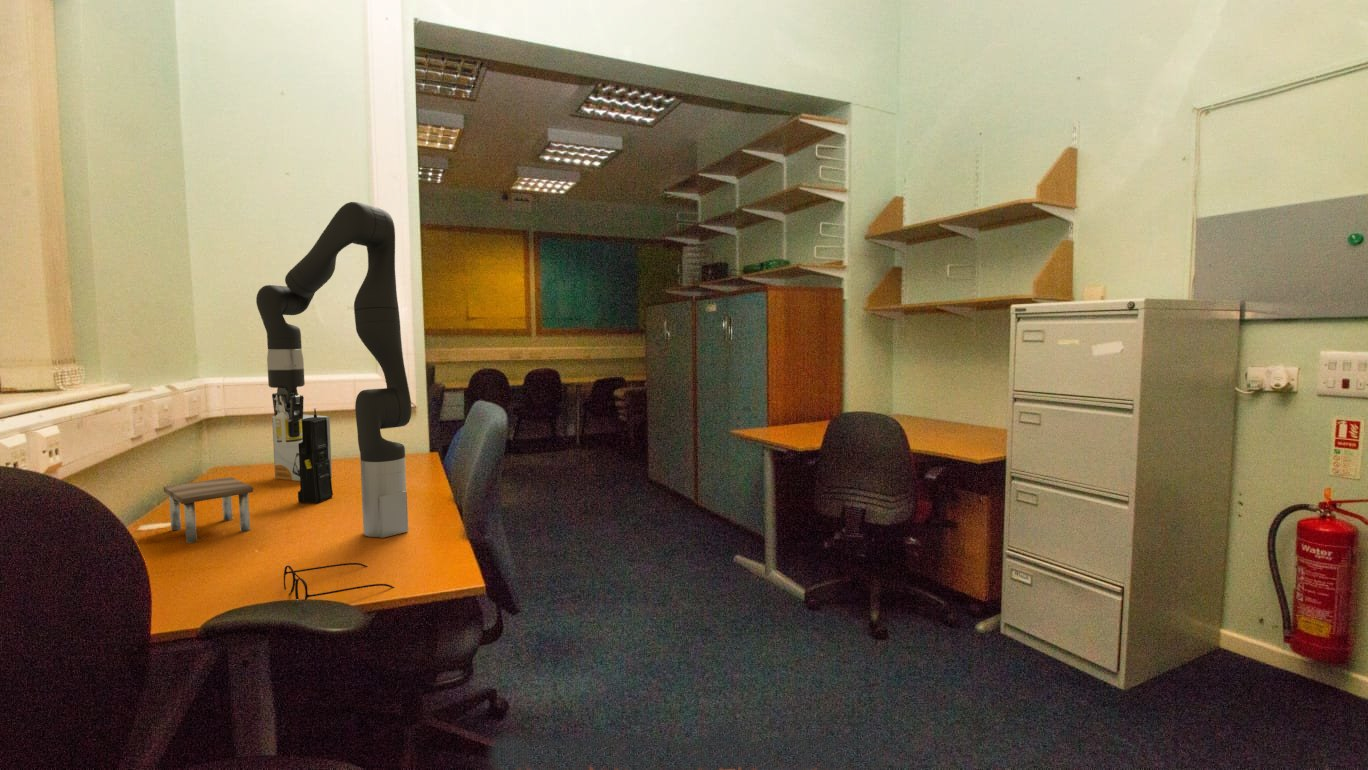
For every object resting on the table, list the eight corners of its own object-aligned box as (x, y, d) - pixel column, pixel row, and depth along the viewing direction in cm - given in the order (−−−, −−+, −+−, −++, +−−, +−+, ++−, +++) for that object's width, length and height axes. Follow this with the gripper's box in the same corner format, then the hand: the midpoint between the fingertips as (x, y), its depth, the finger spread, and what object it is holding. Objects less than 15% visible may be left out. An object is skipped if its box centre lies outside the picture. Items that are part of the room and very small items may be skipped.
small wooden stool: (255, 530, 143) (252, 487, 142) (184, 544, 133) (181, 498, 132) (233, 517, 153) (231, 476, 152) (166, 529, 143) (163, 486, 142)
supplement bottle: (307, 441, 156) (305, 403, 155) (294, 445, 150) (292, 405, 149) (285, 441, 155) (283, 403, 155) (272, 445, 150) (269, 405, 149)
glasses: (281, 590, 111) (284, 562, 111) (369, 576, 122) (371, 551, 122) (303, 616, 101) (306, 585, 101) (396, 598, 112) (399, 571, 112)
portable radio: (317, 504, 164) (313, 412, 162) (295, 504, 164) (290, 411, 162) (334, 497, 172) (330, 408, 170) (313, 496, 172) (309, 408, 170)
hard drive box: (273, 479, 193) (270, 416, 191) (295, 474, 200) (292, 413, 198) (312, 483, 188) (309, 418, 186) (333, 477, 195) (330, 415, 194)
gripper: (314, 367, 150) (317, 436, 151) (292, 366, 159) (295, 431, 160) (279, 369, 144) (283, 440, 145) (258, 367, 153) (261, 434, 154)
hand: (289, 435), depth 153 cm, fingers closed on supplement bottle, 5 cm apart
